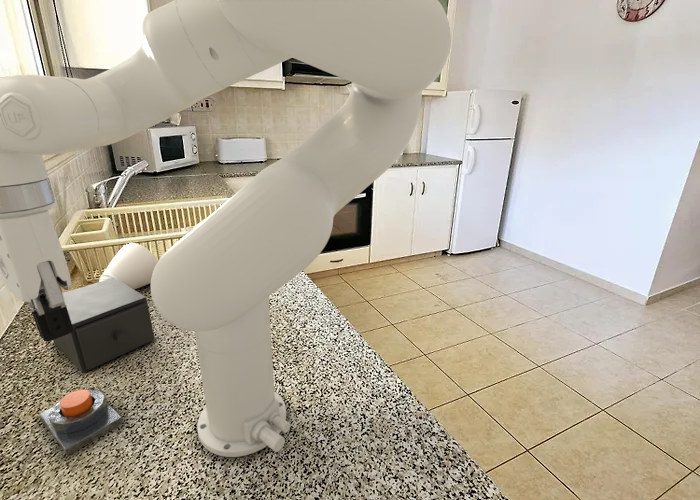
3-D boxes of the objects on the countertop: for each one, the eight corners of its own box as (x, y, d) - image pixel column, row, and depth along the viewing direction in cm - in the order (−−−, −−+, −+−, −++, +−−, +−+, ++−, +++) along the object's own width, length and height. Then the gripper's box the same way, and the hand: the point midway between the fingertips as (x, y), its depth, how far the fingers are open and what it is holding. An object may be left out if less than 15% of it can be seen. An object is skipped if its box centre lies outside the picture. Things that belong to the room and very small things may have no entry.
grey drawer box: (154, 339, 74) (146, 296, 70) (82, 373, 64) (68, 325, 61) (123, 317, 81) (113, 277, 78) (54, 344, 72) (40, 300, 68)
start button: (97, 406, 54) (94, 396, 53) (68, 421, 51) (65, 411, 51) (87, 395, 56) (84, 385, 55) (58, 409, 53) (55, 399, 53)
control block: (123, 423, 55) (119, 407, 53) (67, 456, 49) (61, 439, 48) (94, 392, 60) (90, 377, 59) (41, 419, 55) (35, 403, 54)
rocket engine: (65, 278, 76) (132, 234, 90) (51, 299, 83) (116, 255, 97) (110, 317, 79) (169, 268, 93) (94, 334, 86) (150, 286, 100)
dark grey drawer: (157, 341, 72) (150, 306, 69) (91, 373, 63) (80, 333, 60) (124, 318, 79) (116, 285, 76) (61, 343, 71) (49, 307, 68)
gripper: (-48, 194, 44) (5, 328, 50) (-16, 216, 35) (42, 373, 42) (31, 184, 49) (69, 306, 56) (75, 201, 41) (113, 341, 47)
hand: (57, 334), depth 49 cm, fingers closed
